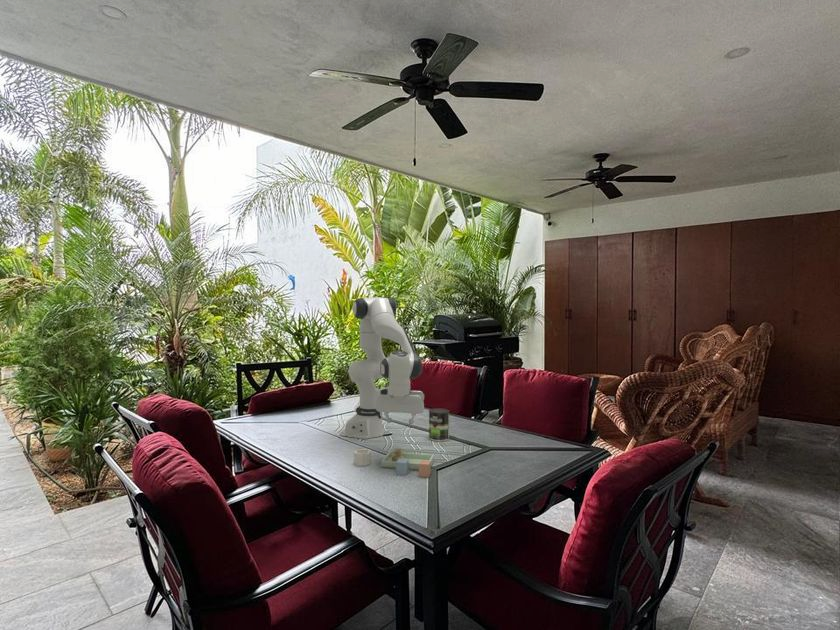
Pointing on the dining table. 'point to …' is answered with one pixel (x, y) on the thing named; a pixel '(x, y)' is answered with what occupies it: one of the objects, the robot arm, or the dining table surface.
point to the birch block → (397, 454)
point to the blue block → (402, 466)
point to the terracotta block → (424, 468)
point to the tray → (413, 460)
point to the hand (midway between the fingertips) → (399, 423)
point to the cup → (362, 457)
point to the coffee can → (439, 424)
